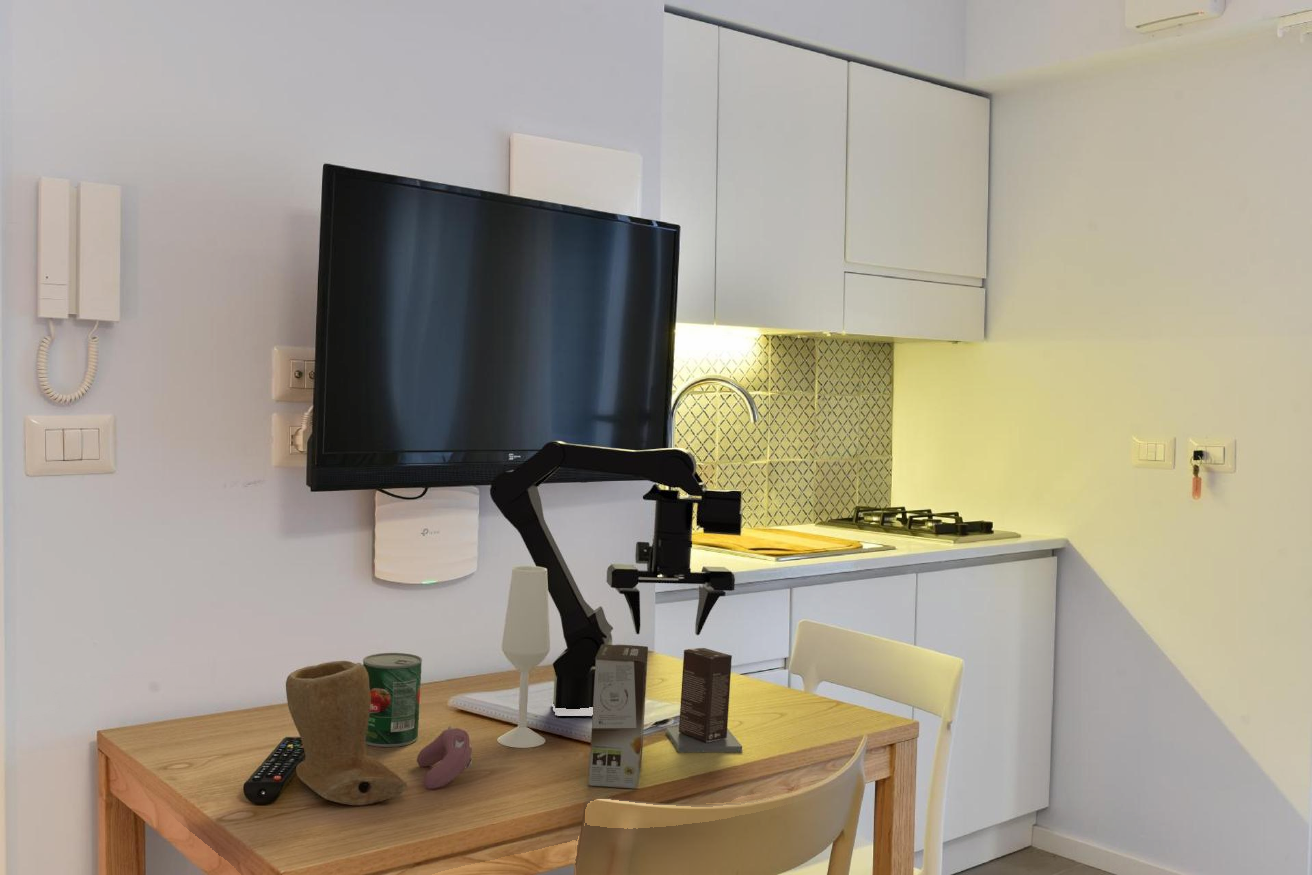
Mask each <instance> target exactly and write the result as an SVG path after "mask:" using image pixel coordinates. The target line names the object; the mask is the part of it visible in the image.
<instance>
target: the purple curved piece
mask: <svg viewBox="0 0 1312 875" xmlns="http://www.w3.org/2000/svg"><path fill="white" fill-rule="evenodd" d="M472 751H473V748H472V747H471V746H470V737H469V734H468V732H467V731H465V730H463V729H462V728H458V727H454V728H452V727H451V726H449V727H448V728H447V729H444V730H443V731H442V732H441V733H440V734H439V735H438V736H437V737H436V738H435V739H433V741H431V742H430V743H429V744H427V745H425V747H423V748H422V749H420V751H419V753H418V754H417V758H416V763H417V764H418V765H419V767H422V768H427V767H429V766H430V767H431V766H433V765H434V766H433V767H432V768H431V769H430V770H429V771H428V772H427V773H426V774H425V776H424V777H423V778H424V779H423V785H424V787H425V788H426V789H428V790H434V789H439V788H441V787H444V786H445V785H448V784H449V783H450V782H451V783H452V782H453V781H454V779H455V778H456V777H458V776H459V774H462V773H463V771H464V770H465V769H466V768H469V767H470V766H471V765H472V763H473V758H472V757H471V755H472ZM435 764H436V765H435Z"/></svg>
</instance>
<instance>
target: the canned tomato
mask: <svg viewBox="0 0 1312 875" xmlns="http://www.w3.org/2000/svg"><path fill="white" fill-rule="evenodd" d="M362 662H363V664H362V665H363V666H364V667H365V668H366V670H367V672H368V676H369V687H370V697H371V709H370V715H369V721H368V726H367V732H366V745H365V746H371V747H378V748H396V747H403V746H408V745H411V744H413V743H415V742H417V741H418V739H419V719H420V702H421V681H422V677H421V676H422V664H423V663H422V662H423V659H422V657H420V656H418V655H416V654H412V653H406V652H405V653H403V652H384V653H374V654H370V655H367V656H365V657H364V658H363V659H362Z"/></svg>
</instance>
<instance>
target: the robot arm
mask: <svg viewBox="0 0 1312 875" xmlns="http://www.w3.org/2000/svg"><path fill="white" fill-rule="evenodd" d="M560 468H565V469H575V470H585V471H593V472H603V473H609V474H610V473H611V474H619V475H629V476H633V477H636V478H640V479H642V480H645V481H648V482H651V483H654V484H652V486H651V488H650V490H649V491H647V492H645V494H644V495H642V500H644V501H655V508H654V525H653V526H654V528H653V529H654V530H653V535H652V536H653V538H652V545H650V542H649V541H637V542H636V543H635V563H636V564H637V565H638V564H641V565H642V564H643V565H646V570H642V569H641V570H639V569H638V567H637V566H635V565H634V564H621V563H620V564H618V563H617V564H616V563H614V564H613V563H611V564H610V565H609V566H608V567H607V570H606V583H607V584H608V586H609V587H610V588H613V589H615V590H616V591H617V592H618V594H621V595H623V596H624V599H625V601H626V603H627V605H628V610H629V613H630V615H631V616H630V617H631V620H632V623H633V624H632V625H633V628H634V632H635V634H636V635H640V633H641V632H640V631H641V595H640V594H641V591H640V590H639V589H638V588H637V586H638V584H640V583H641V584H642V583H643V584H675V585H676V584H683V585H698V604H697V610H696V618H695V623H694V624H695V625H694V626H695V628H694V630H695V631H694V632H695V635H696V636H699V635H700V634H701V632H702V631H703V628H704V626H705V624H706V621H707V619H708V617H709V615H710V613H711V611H712V610H713V607H714V606H715V605H716V603H717V601H718V600H719V598H720V597H725V596H726V595H727V594H726V592H727V591H729V592H730V591H731V592H732V591H735V582H736V578H735V574H734V573H733V571H731V570H729V569H728V568H727V567H725V566H704V565H703V566H702V568H701V571H692V569H691V568H692V567H691V557H692V548H693V540H692V538H693V537H692V536H693V520H694V519H693V518H694V504H697V507H696V519H695V521H696V522H695V523H696V526H697V527H699V528H701V529H703V530H702V533H703V534H709V535H723V536H724V535H727V536H742V525H743V510H742V500H743V499H742V496H743V495H742V494H743V491H742V490H741V489H730V490H729V489H728V490H724V489H710V488H708V487H707V486H706V483H705V482H704V481H703V480H702V478H701V476H700V475H699V473H698V472H697V468H698V467H697V460H696V459H695V456H694V455H693V453H692V452H691V451H689V450H688V449H687V448H683V447H668V448H666V447H665V448H664V447H663V448H655V449H642V450H641V449H640V450H639V449H638V450H636V449H635V450H634V449H625V448H618V447H617V448H616V447H606V446H597V445H588V444H577V443H569V442H564V441H562V440H553V441H552V440H551V441H549V442H547V443H545V444H544V445H543V446H542V448H541V449H540V450H538V451H537V452H536V453H534V454H533V455H532V456H530V457H529V458H528V459H526V460H525V461H524V462H522V463H521V464H520V465H518V466H517V467H516V468H515V469H512V470H507V471H504V472H501V473H499V474H498V475H496V476H495V477H494V479H493V480H492V482H491V485H490V487H489V495H490V498H491V501H492V502H493V503H494V504H495V506H496V507H497V509H498V510H499V511H500V513H501V514H502V516H503V517H504V518H505V519H506V520H507V521H508V522H509V523H510V524H511V525H512V526H513V528H515V529H516V531H517V532H518V533H519V535H520V537H521V539H522V541H523V542H524V543H523V544H524V545H525V547H526V550H528V553H529V555H530V556H531V559H532V561H533V563H534V565H535V566H536V567H543V568H546V569H547V580H548V594H549V595H550V597H551V599H552V601H553V603H554V605H555V607H556V609H557V612H558V613H559V616H560V622H561V627H562V633H563V639H564V640H565V644H566V648H565V649H564V650H563V652H561V654H560V655H559V656H557V658H556V659H555V660H554V662H553V663H552V667H553V670H554V671H553V672H554V680H553V682H554V683H553V697H552V698H553V701H552V702H553V704H554V706H555V708H566V709H580V708H589V707H593V696H594V680H595V657H596V655H597V653H598V651H599V649H600V647H601V645H602V644H608V645H613V636H612V631H613V630H614V627H613V626H612V625H611V624H610V623H609V622H608V620H607V618H606V614H605V611H604V608H603V607H602V605H599V606H598V607H597V608H595V609H594V608H593V607H591V606H590V605H589V604H588V602H586V600H585V598H584V596H583V595H582V592H581V590H580V588H579V586H578V585H577V582H576V581H575V579H574V576H573V574H572V573H571V571H570V569H569V566H568V564H567V563H566V560H565V559H564V557H563V555H562V554H563V553H561V551H560V549H559V547H558V544H557V542H556V540H555V538H554V537H553V534H552V533H551V530H550V529H549V526H548V525H547V523H546V520H545V517H544V511H543V504H542V500H541V496H540V492H539V489H538V487H540V486H541V485H542V484H543V483H544V482H545V481H546V480H548V478H550V477H551V476H552V475H553V474H554V473H556V471H557V470H558V469H560ZM658 484H659V485H662V486H666V487H668V488H675V489H676V488H679V489H680V490H682V491H683V492H685V494H687V495H688V496H691V497H688V496H687V497H686V496H681V492H680V490H675V489H662V488H660V487H659V485H658ZM692 496H693V497H692ZM660 575H661V576H660ZM725 591H726V592H725Z"/></svg>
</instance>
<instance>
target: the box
mask: <svg viewBox="0 0 1312 875" xmlns="http://www.w3.org/2000/svg"><path fill="white" fill-rule="evenodd" d="M732 658H733V655H731V654H729V653H724V652H719V651H717V650H713V649H709V648H706V647H699V648H688V649H684V650H683V659H682V660H683V662H682V674H681V675H682V676H681V694H680V706H679V707H680V709H679V724H678V727H679V732H680V733H683V734H686V735H689V736H692V737H694V738H697V739H700V740H702V741H705V742H714V741H718V740H722V739H725V738H727V728H728V721H729V709H730V708H729V707H730V693H731V692H730V691H731V674H732V673H731V672H732Z"/></svg>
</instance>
